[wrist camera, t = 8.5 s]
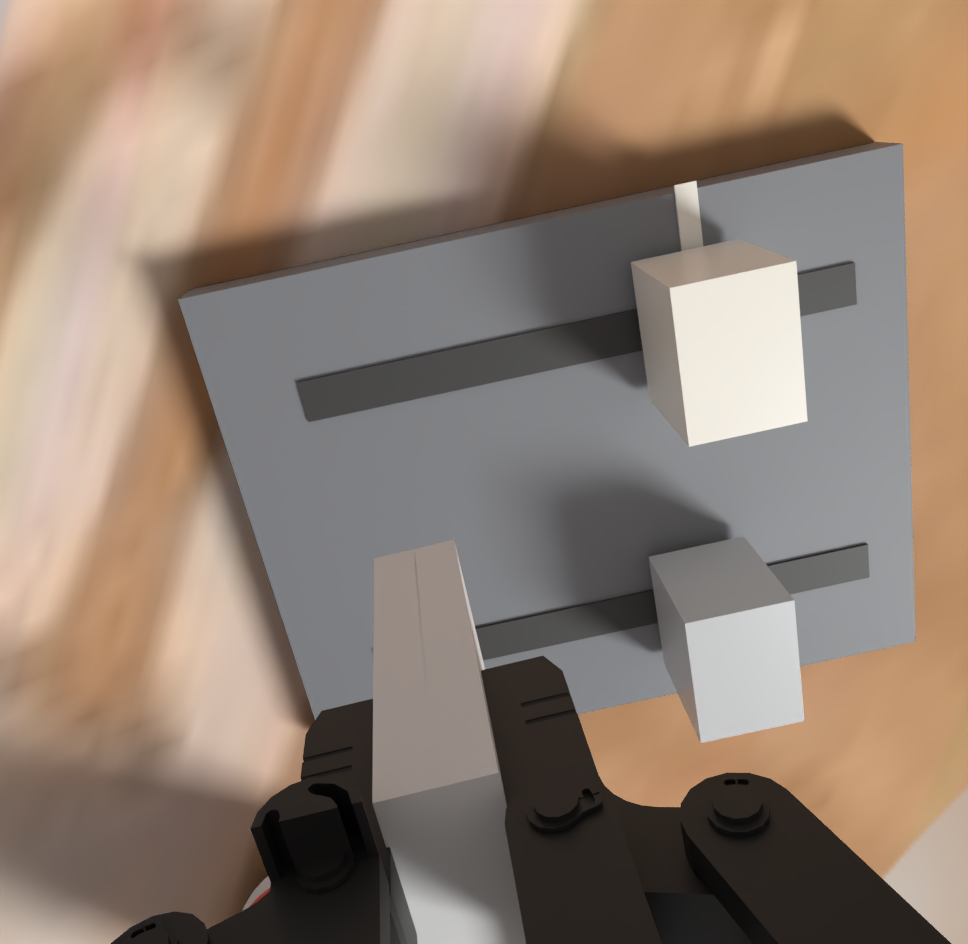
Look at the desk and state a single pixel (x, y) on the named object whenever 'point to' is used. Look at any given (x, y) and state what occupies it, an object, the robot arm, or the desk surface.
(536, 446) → the panel
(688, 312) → the fader ivory
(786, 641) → the fader grey
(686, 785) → the desk surface
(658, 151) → the desk surface
